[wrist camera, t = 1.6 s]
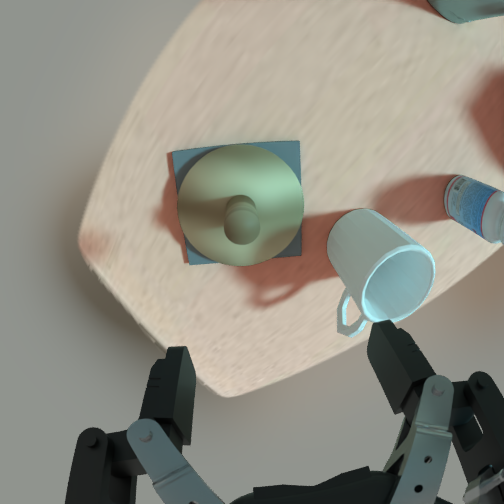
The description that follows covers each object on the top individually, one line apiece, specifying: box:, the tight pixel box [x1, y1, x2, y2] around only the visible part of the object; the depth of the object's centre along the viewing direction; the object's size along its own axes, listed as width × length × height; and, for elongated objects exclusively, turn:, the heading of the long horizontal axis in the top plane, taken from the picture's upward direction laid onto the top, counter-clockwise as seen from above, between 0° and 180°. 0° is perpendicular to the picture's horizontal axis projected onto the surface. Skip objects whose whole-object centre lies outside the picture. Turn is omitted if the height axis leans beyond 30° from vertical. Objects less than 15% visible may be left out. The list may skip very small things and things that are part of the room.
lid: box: [177, 144, 304, 266], centre depth 24 cm, size 12×12×6 cm
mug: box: [327, 209, 435, 337], centre depth 26 cm, size 8×12×10 cm
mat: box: [172, 141, 301, 265], centre depth 27 cm, size 12×12×1 cm
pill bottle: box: [444, 175, 504, 245], centre depth 23 cm, size 6×6×11 cm
